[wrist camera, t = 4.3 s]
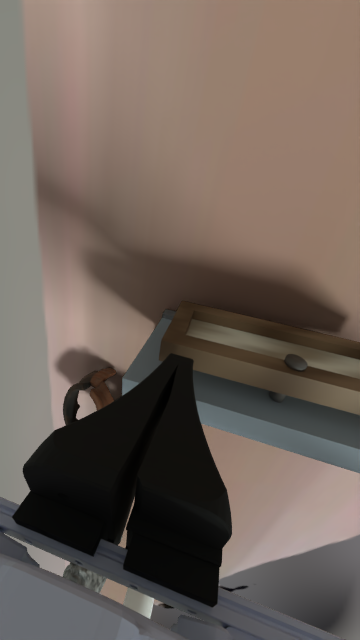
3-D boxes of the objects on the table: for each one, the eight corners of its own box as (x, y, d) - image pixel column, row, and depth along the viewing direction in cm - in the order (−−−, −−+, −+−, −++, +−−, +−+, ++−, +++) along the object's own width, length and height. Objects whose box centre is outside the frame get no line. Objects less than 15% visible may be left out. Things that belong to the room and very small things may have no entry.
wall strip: (378, 362, 19) (481, 479, 11) (348, 399, 22) (413, 516, 14) (165, 309, 22) (122, 372, 14) (160, 347, 24) (121, 420, 16)
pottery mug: (108, 415, 34) (56, 441, 27) (111, 357, 34) (59, 367, 26) (172, 443, 28) (128, 485, 21) (176, 372, 28) (133, 391, 21)
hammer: (74, 514, 69) (88, 507, 50) (105, 520, 71) (129, 515, 52) (49, 587, 58) (53, 613, 39) (86, 591, 61) (108, 618, 41)
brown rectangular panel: (390, 346, 16) (464, 414, 11) (365, 376, 18) (419, 448, 12) (182, 297, 18) (161, 336, 13) (177, 329, 19) (156, 375, 14)
